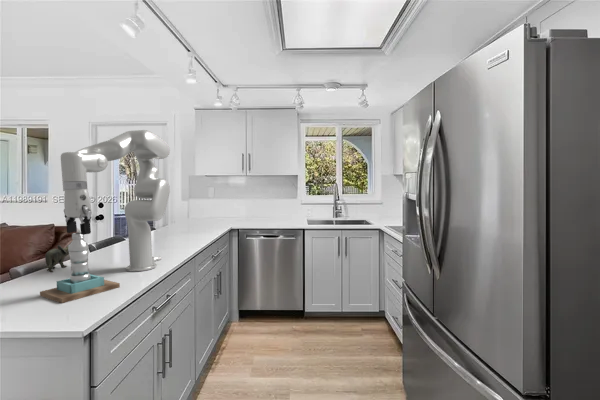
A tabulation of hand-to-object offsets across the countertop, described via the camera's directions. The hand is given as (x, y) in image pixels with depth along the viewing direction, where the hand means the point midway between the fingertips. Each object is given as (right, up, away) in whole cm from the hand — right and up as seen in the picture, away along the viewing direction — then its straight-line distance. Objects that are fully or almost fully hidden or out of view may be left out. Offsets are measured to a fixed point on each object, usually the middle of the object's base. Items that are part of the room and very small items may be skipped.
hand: (78, 233), depth 130 cm
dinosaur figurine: (-33, -21, +35) cm, 52 cm away
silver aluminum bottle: (0, -20, +1) cm, 20 cm away
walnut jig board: (0, -22, +1) cm, 22 cm away
